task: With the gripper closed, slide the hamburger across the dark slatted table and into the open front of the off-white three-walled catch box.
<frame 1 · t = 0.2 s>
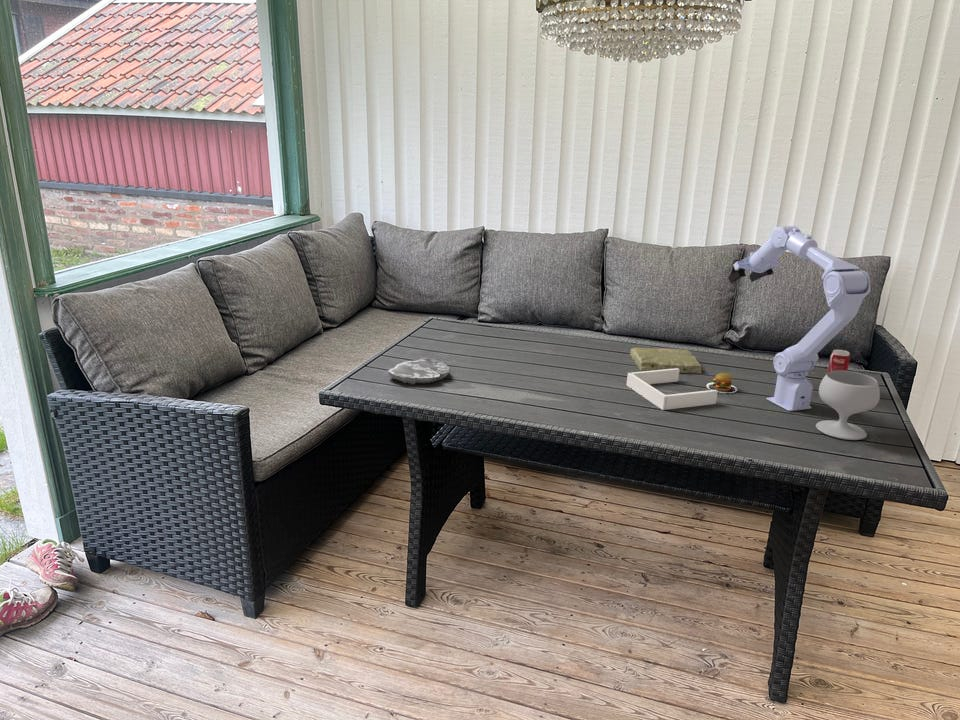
hand: (740, 279, 215), 31 cm above the table, tool tilted 45°, fingers open, 7 cm apart
hamburger: (721, 391, 210), on the table
decorative tile: (664, 365, 232), on the table
brain slice: (422, 378, 214), on the table
catch box: (670, 394, 205), on the table
soda can: (833, 389, 212), on the table
chalice: (840, 432, 182), on the table
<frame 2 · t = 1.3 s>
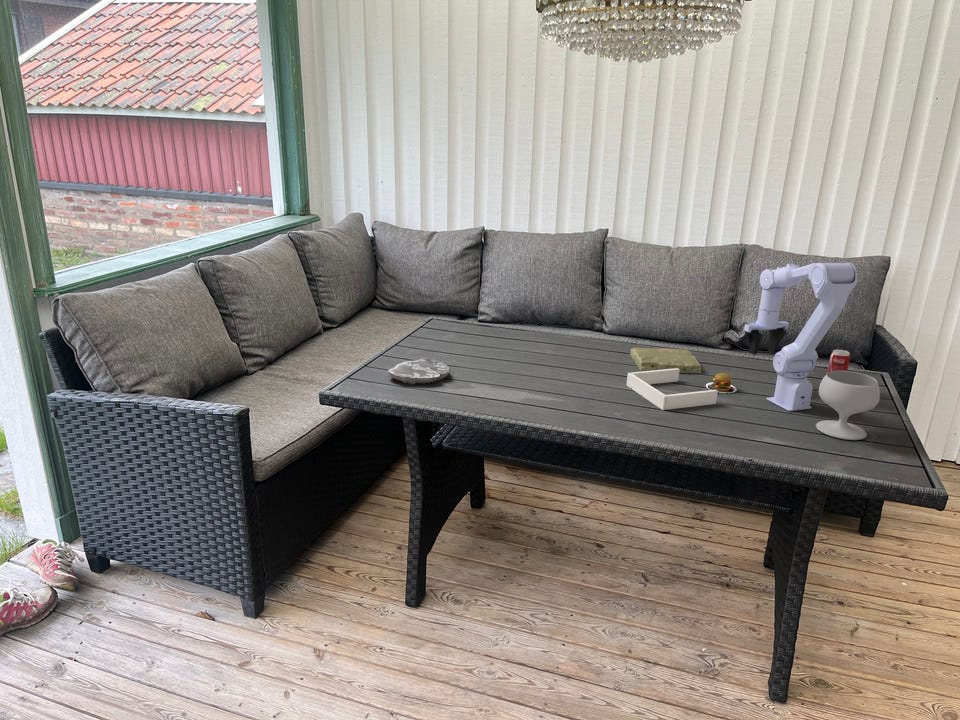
hand: (762, 352, 211), 10 cm above the table, tool pointing down, fingers open, 6 cm apart
nothing on the table moved.
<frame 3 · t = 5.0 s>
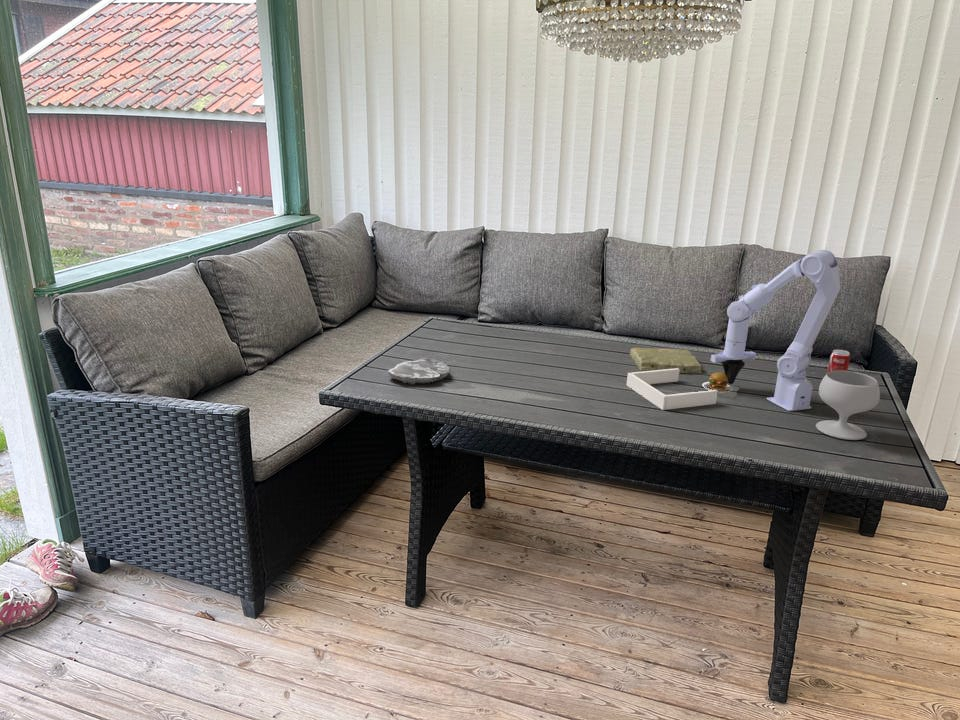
hand: (729, 382, 210), 2 cm above the table, tool pointing down, fingers closed
hamburger: (716, 390, 210), on the table, touching gripper
everything else where it was.
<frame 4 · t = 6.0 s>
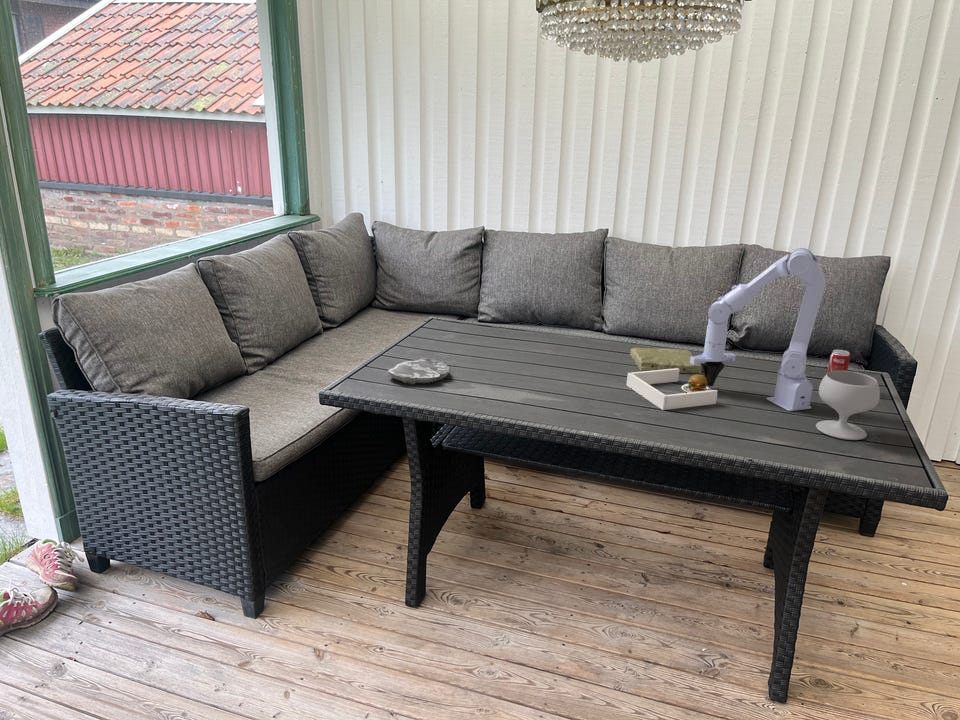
hand: (709, 385, 208), 2 cm above the table, tool pointing down, fingers closed
hamburger: (696, 393, 208), on the table, touching gripper
everything else where it was.
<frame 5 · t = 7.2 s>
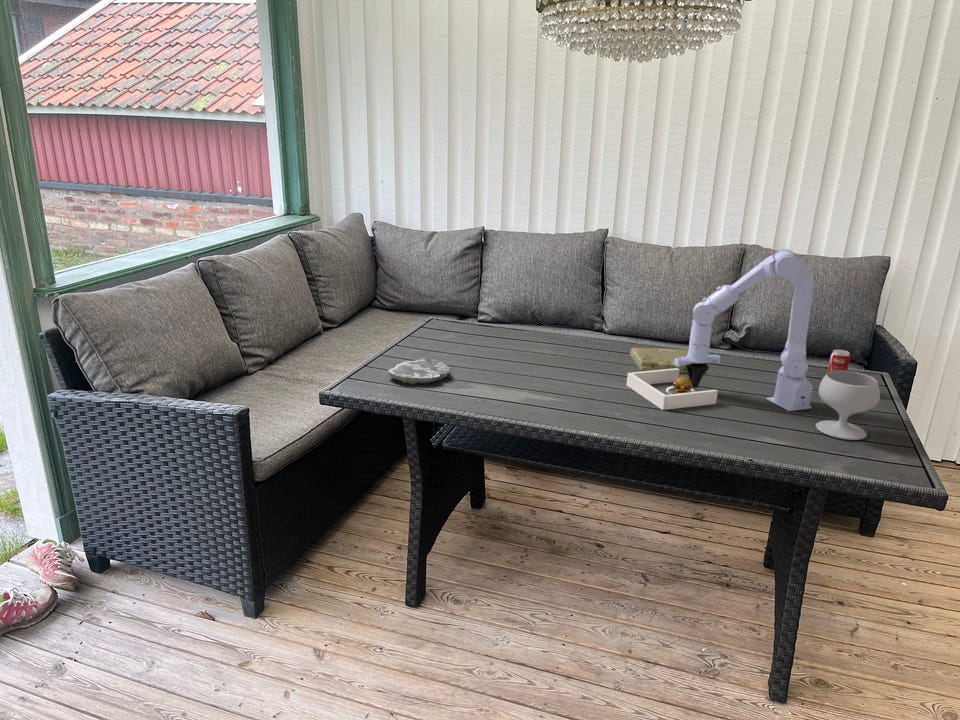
hand: (693, 386, 206), 2 cm above the table, tool pointing down, fingers closed
hamburger: (681, 395, 206), on the table
everything else where it was.
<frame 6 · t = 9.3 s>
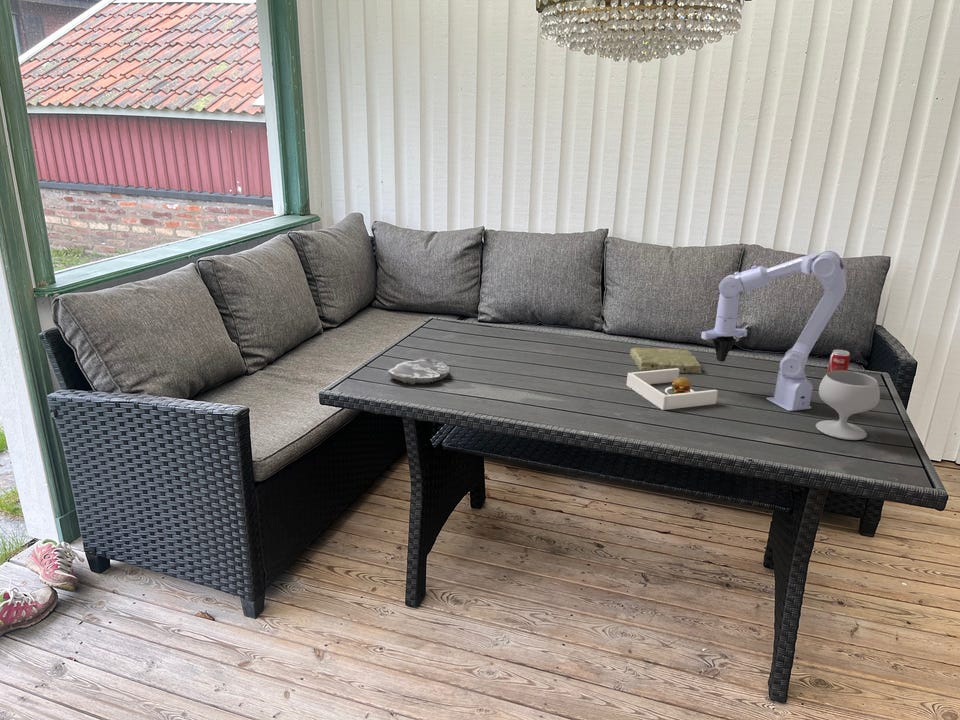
hand: (720, 360, 207), 9 cm above the table, tool pointing down, fingers closed
nothing on the table moved.
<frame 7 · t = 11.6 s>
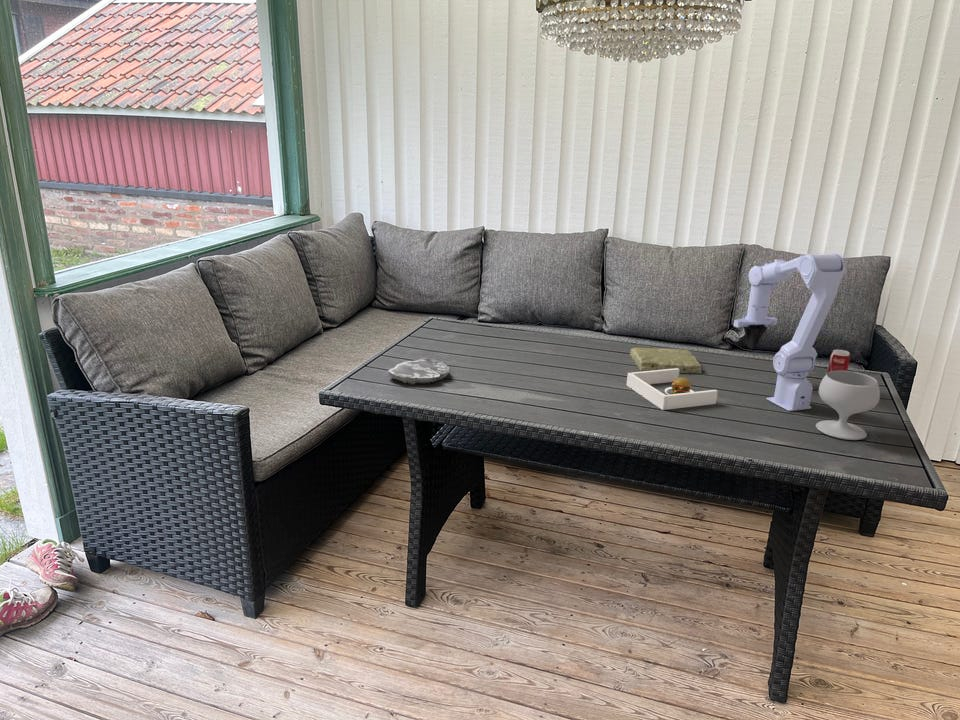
hand: (751, 347, 215), 10 cm above the table, tool pointing down, fingers closed
nothing on the table moved.
at the end: hamburger inside the target area on the catch box (2.6 cm from its centre), point -0.9 cm above the catch box's base; hamburger moved 14.9 cm from its start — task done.
